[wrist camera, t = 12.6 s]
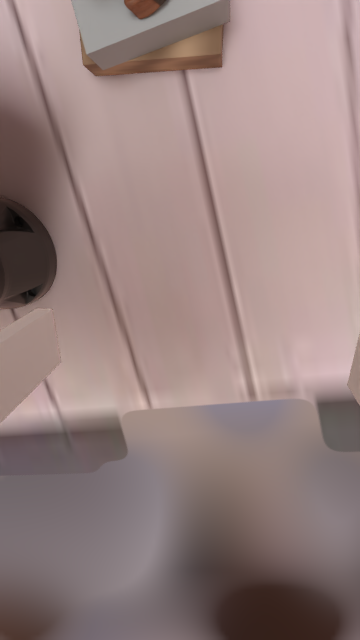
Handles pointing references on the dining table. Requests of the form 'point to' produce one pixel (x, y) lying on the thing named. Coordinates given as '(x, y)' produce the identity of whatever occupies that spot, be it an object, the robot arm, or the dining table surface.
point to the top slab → (142, 26)
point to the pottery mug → (143, 7)
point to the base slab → (170, 56)
